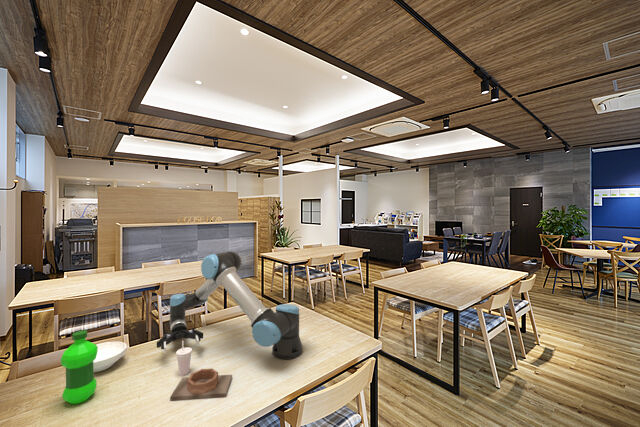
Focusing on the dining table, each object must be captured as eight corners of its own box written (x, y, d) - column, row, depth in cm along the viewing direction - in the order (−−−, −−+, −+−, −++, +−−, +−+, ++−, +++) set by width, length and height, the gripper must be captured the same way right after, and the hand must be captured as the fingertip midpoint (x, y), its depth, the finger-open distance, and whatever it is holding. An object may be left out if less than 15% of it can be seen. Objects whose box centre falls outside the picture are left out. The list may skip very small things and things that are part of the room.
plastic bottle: (73, 412, 98) (73, 341, 97) (55, 404, 101) (54, 336, 101) (104, 394, 107) (103, 329, 107) (86, 388, 111) (85, 325, 110)
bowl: (64, 385, 112) (64, 368, 112) (79, 362, 130) (78, 346, 130) (123, 372, 121) (123, 356, 121) (129, 352, 139) (129, 338, 139)
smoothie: (179, 369, 124) (179, 337, 124) (194, 368, 125) (194, 337, 125) (173, 377, 118) (173, 344, 118) (189, 376, 119) (189, 344, 118)
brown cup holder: (232, 378, 118) (232, 366, 118) (225, 397, 106) (225, 383, 106) (182, 381, 116) (182, 369, 115) (170, 400, 104) (170, 387, 104)
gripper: (204, 331, 153) (210, 348, 135) (151, 342, 141) (150, 362, 122) (204, 318, 153) (210, 332, 135) (151, 327, 140) (150, 345, 122)
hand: (182, 346), depth 128 cm, fingers open, 13 cm apart
